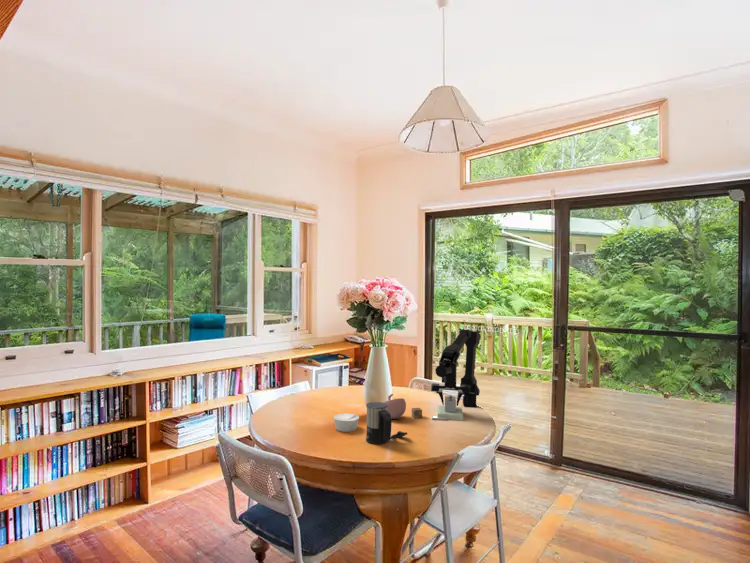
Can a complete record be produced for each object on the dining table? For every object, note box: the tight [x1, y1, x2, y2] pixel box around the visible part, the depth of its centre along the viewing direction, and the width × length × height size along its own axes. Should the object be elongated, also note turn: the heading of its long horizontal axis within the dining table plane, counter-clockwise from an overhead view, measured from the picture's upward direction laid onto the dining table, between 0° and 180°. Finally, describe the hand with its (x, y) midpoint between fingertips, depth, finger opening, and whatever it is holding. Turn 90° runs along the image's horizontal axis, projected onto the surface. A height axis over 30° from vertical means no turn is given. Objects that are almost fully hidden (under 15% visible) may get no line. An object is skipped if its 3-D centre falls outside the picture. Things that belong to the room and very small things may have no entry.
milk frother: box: [365, 401, 408, 445], centre depth 184 cm, size 14×16×15 cm
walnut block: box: [411, 407, 423, 420], centre depth 216 cm, size 4×4×4 cm
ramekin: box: [333, 412, 360, 433], centre depth 198 cm, size 11×11×5 cm
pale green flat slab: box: [437, 405, 464, 421], centre depth 220 cm, size 12×14×3 cm
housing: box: [444, 395, 457, 413], centre depth 220 cm, size 5×8×6 cm, turn 172°
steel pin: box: [431, 415, 448, 422], centre depth 213 cm, size 7×2×2 cm
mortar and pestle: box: [383, 393, 407, 420], centre depth 214 cm, size 12×12×12 cm
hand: (450, 405), depth 220 cm, fingers open, 6 cm apart
